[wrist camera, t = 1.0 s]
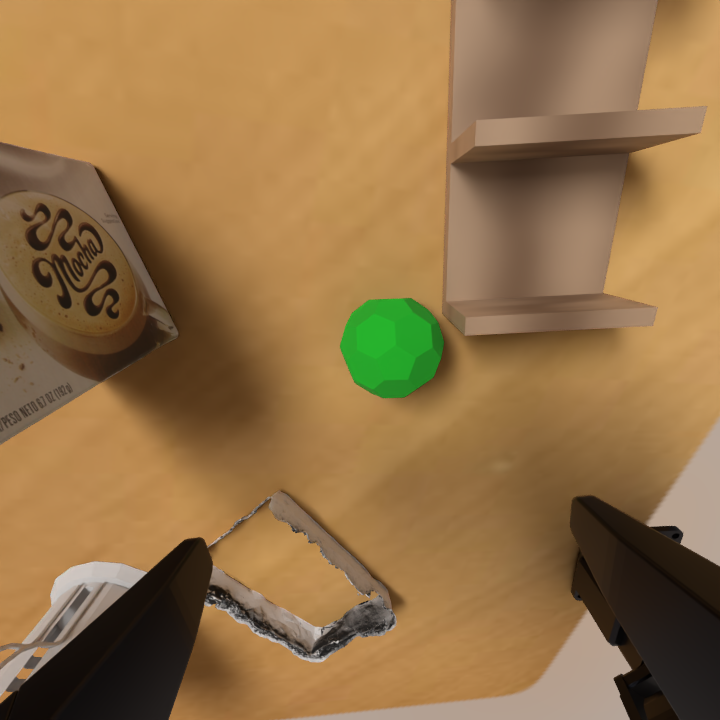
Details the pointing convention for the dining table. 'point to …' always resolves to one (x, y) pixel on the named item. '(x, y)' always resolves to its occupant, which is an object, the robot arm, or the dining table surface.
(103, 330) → the coffee box
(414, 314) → the polyhedron
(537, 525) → the dining table surface
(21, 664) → the french press
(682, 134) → the rack
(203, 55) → the dining table surface
